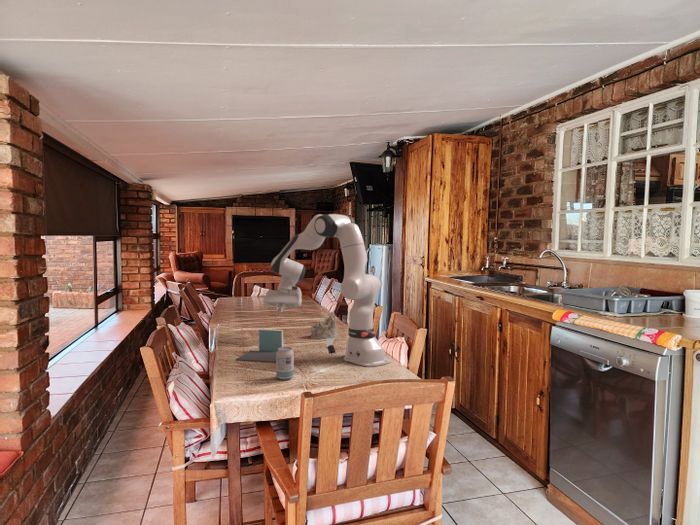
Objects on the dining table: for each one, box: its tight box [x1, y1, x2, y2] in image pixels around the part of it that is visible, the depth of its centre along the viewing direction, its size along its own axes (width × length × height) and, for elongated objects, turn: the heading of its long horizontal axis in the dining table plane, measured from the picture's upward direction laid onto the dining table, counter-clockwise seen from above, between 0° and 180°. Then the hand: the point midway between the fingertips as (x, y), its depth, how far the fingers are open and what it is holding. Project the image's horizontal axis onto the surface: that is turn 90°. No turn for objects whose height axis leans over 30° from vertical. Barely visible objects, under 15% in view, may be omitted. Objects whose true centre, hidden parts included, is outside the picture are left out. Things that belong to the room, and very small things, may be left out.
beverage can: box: [275, 346, 295, 381], centre depth 177 cm, size 7×7×12 cm
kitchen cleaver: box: [325, 338, 337, 355], centre depth 229 cm, size 31×2×10 cm
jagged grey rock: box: [310, 311, 339, 340], centre depth 252 cm, size 16×16×15 cm
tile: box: [258, 328, 284, 352], centre depth 217 cm, size 2×12×11 cm, turn 79°
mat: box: [235, 349, 277, 364], centre depth 208 cm, size 16×20×1 cm
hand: (279, 311), depth 229 cm, fingers closed
